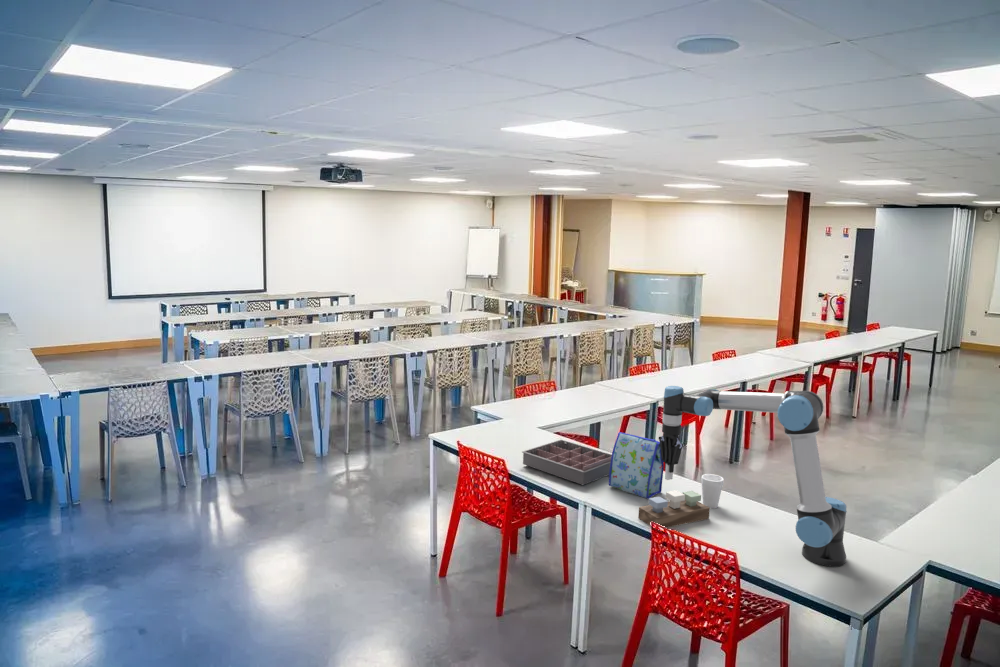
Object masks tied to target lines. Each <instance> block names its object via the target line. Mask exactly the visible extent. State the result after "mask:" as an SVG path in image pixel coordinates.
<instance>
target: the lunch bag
mask: <svg viewBox="0 0 1000 667" xmlns="http://www.w3.org/2000/svg"><path fill="white" fill-rule="evenodd" d="M611 452H612V453H611V454H612V457H611V463H610V470H609V475H608V487H611V488H614V489H617V490H621V491H624V492H626V493H630V494H632V495H636V496H638V497H642V498H645V499H647V500H649V498H653V496H655V495H657V494H661V493H662V488H663V487H662V485H663V478H664V463H665V462H664V460H662V458H661V448H660V441H659V440H656V439H654V438H653V439H652V438H647V437H644V436H639V435H635V434H630V433H626V432H621V431H619V432H618V433H617V437H616V439H615V442H614V445H613V447H612V451H611Z"/></svg>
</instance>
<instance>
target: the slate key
mask: <svg viewBox="0 0 1000 667" xmlns="http://www.w3.org/2000/svg"><path fill="white" fill-rule="evenodd" d="M668 502H669V501H668V500H667V499H665V498H662V497H661V496H655V497H651V498H649V499H648V505H651V506H653V509H652V511H654V512H656V513H660V512H663V508H665V507H667V506H668Z"/></svg>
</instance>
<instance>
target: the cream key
mask: <svg viewBox="0 0 1000 667" xmlns="http://www.w3.org/2000/svg"><path fill="white" fill-rule="evenodd" d="M665 498H666V500H667V499H668V500H669V501H670V505H669V506H670V507H672V508H674V509H676V508H680V501H685V495H684V494H682V492H680V491H679V490H677V489H676V490H675V489H674V490H671V491H670V490H669V491H666V493H665Z"/></svg>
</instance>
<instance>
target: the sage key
mask: <svg viewBox="0 0 1000 667" xmlns="http://www.w3.org/2000/svg"><path fill="white" fill-rule="evenodd" d="M681 493H682V494H684V495H685V500H686V504H687V505H688V506H690V507H692V506H696V502H697V501H698V502H701V501H702V494H699V493H698V492H696V491H694V490H688V491H682V492H681Z"/></svg>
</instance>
